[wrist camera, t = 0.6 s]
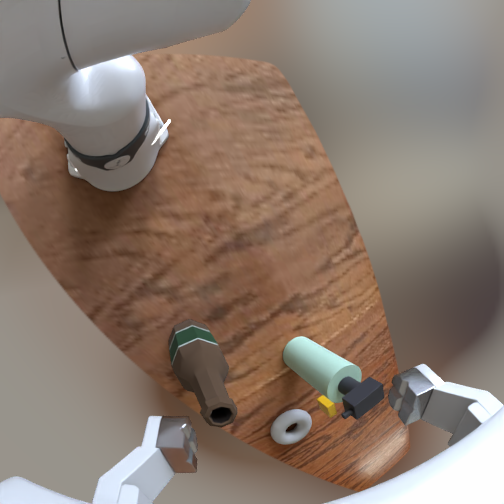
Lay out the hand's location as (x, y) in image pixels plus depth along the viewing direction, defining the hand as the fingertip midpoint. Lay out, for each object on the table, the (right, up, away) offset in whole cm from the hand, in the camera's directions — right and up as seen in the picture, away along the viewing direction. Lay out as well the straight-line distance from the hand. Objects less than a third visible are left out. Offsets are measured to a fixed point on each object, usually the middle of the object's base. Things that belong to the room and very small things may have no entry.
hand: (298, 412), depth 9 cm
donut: (+6, -33, +44) cm, 56 cm away
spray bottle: (+8, -15, +44) cm, 47 cm away
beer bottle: (-13, -9, +37) cm, 40 cm away
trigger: (+9, -17, +27) cm, 33 cm away
